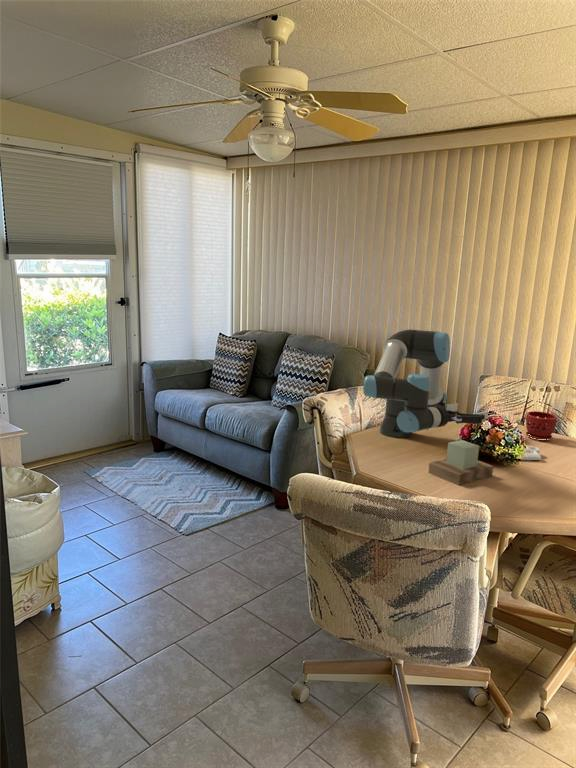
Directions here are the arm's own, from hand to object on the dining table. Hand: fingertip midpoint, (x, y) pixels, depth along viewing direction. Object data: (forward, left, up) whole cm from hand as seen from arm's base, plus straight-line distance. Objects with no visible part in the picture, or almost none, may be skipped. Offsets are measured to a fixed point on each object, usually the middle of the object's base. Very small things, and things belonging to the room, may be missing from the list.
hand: (471, 410), depth 212 cm
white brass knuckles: (-41, -3, -25) cm, 48 cm away
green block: (+2, 0, -21) cm, 21 cm away
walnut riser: (+2, 0, -25) cm, 25 cm away
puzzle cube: (-56, -26, -25) cm, 67 cm away
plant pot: (-74, -14, -25) cm, 79 cm away
